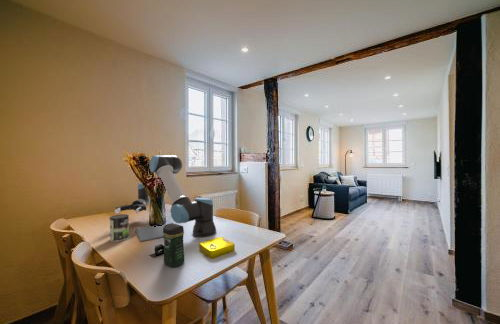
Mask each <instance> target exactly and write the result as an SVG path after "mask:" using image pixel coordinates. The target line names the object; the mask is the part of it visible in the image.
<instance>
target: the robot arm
mask: <svg viewBox="0 0 500 324" xmlns="http://www.w3.org/2000/svg"><path fill="white" fill-rule="evenodd" d="M182 167H183V162H182V160H181V158H180V157H178V156H177V155H174V154H173V155H172V154H171V155H170V154H169V155H166V154H165V155H164V154H163V155H161V154H158V155H157V154H156V155H153V156H151V157H150V160H149V170H150V173H155V175H156V176H157V177H158V178H159V179H160V178H161V180H162V182H163V184H164V186H165V188H166V192H167V194H168V196H169V198H170V200H171V208H170V217H171V218H172V220H173V221H174V222H175V224H176V223H177V224H186V223H188V222H191V221H194V225H193V229H192V235H193V236H195V237H197V238H205V237H209V236H213V235H215V234H217V228H216V225H215V222H214V203H213V202H214V201H213V199H212V198H209V197H195V198H194V200H193V201H191V199H190V197H188V196H186V195H185V192H184V191H183V189H182V187H181V185H180V183H179V181H178V179H177V177H176V175H177V174H179V172H180V171H181V170H182ZM150 203H151V199H150V197H149V194H147V192H146V190H145V188H144V187H143V185H142V183H141V182H138V184H137V199H136V200H134V201H133V202H131V204H124V205H120V206H117V207H115V210H114V215H118V213H119V214H120V212H123V211H127V210H129V211H130V210H133V211H135V213H136V214H139V213H140V212H143V211H147V206H148V205H149V204H150Z"/></svg>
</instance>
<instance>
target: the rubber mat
mask: <svg viewBox="0 0 500 324" xmlns="http://www.w3.org/2000/svg"><path fill="white" fill-rule="evenodd" d="M163 224H164V225H162V224H161V225H162V226H157V225H152V226H146V227H140V228H139V227H138V228H135V229H134V230H135V231H134V232H135V233H136V234H137V236H138V239H139V240H140V242H141V243H143V242H146V241H147V242H148V241H152V240H157V239H161V238H162V239H164V236H163V227H164V226H165V225H166V224H167V223H163ZM154 226H156V227H154Z"/></svg>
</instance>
